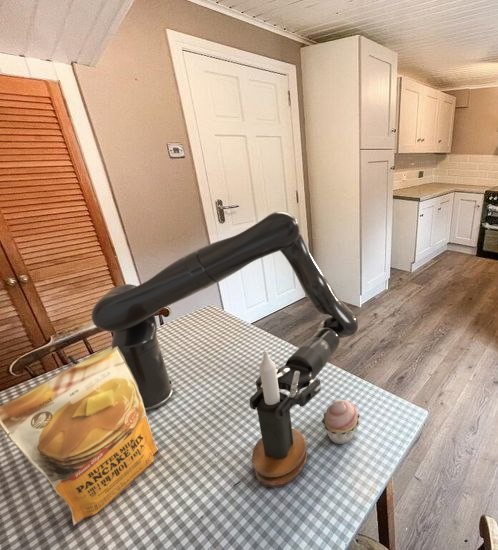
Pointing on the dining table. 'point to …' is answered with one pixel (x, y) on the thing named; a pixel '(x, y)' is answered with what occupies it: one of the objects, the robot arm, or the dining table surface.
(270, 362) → the candle
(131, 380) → the pancake mix bag
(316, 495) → the dining table surface
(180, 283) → the robot arm
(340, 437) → the cupcake
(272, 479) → the coaster pile
